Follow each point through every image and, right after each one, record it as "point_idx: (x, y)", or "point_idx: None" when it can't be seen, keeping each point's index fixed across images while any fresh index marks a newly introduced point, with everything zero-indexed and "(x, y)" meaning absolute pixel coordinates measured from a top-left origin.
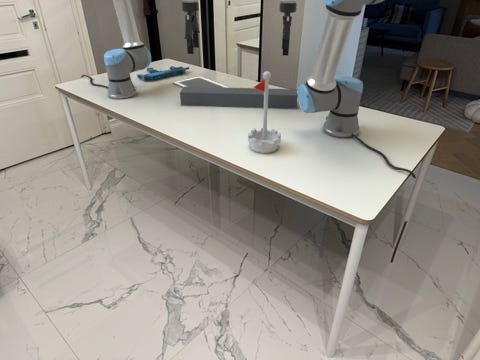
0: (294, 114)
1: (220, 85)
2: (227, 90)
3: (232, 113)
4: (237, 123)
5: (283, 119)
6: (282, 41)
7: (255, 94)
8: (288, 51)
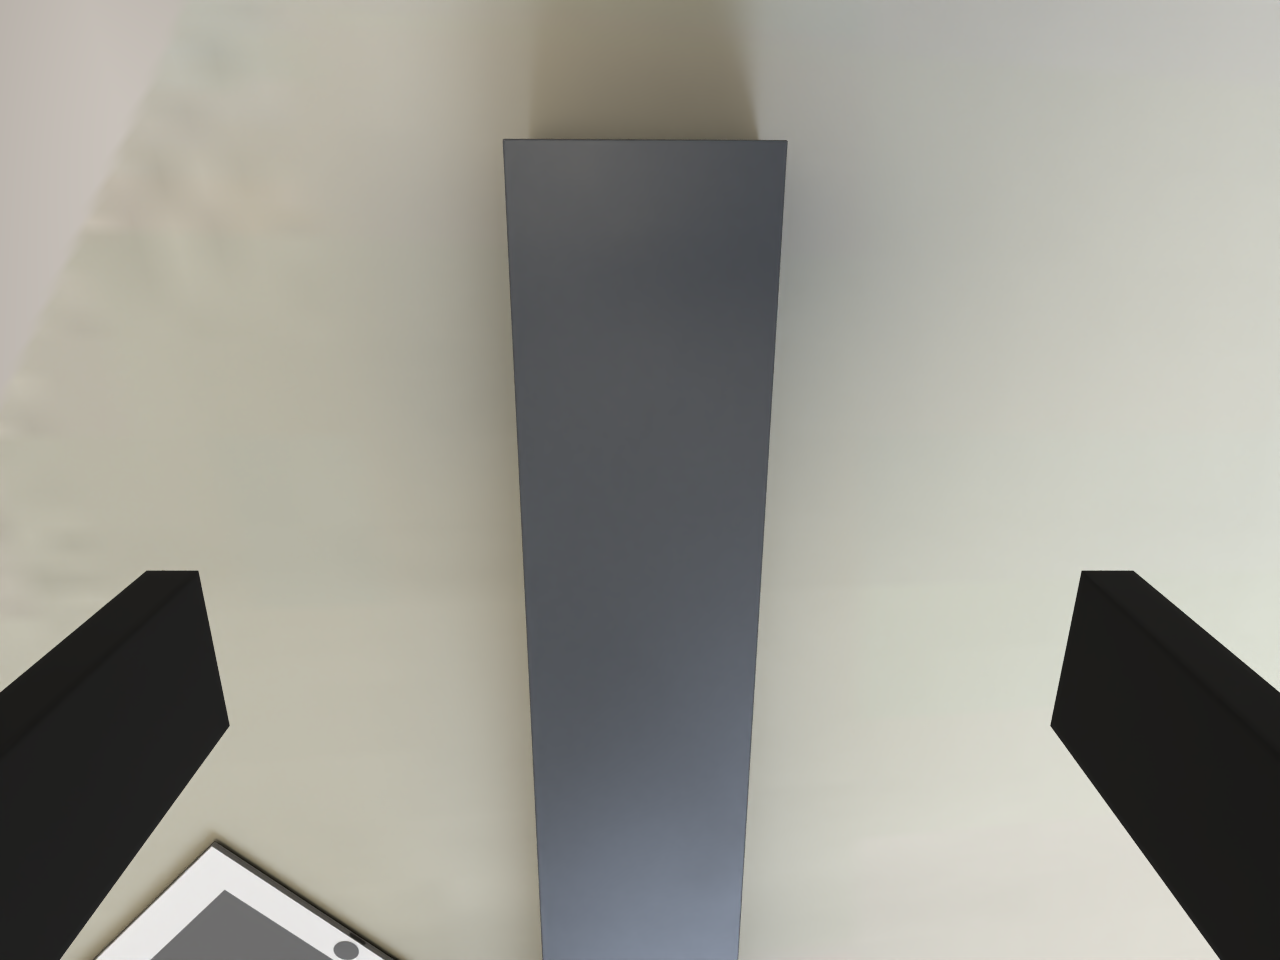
0: (938, 180)
1: (159, 942)
2: (640, 939)
3: (889, 775)
4: None
5: (1073, 313)
6: (98, 903)
7: (754, 677)
8: (1212, 640)
